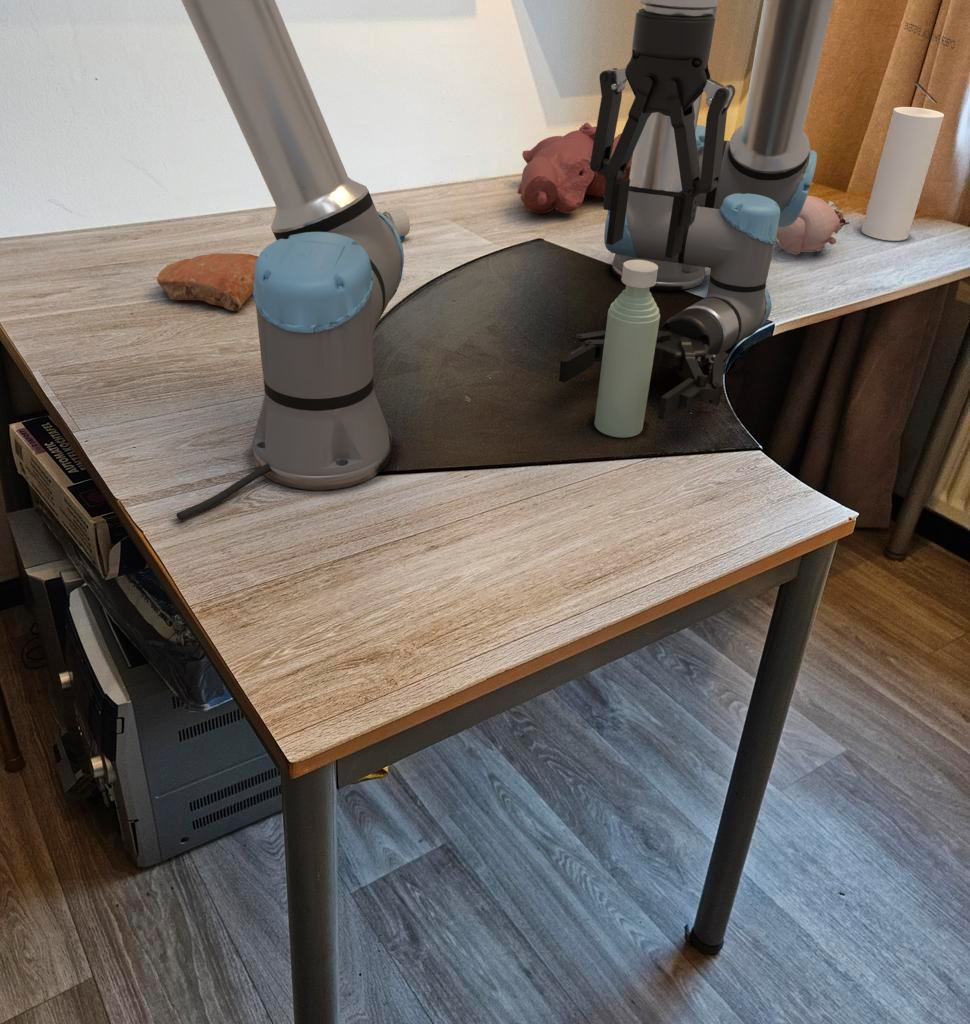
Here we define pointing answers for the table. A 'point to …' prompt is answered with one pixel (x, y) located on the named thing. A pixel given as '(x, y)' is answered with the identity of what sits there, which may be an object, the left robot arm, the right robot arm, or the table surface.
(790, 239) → the toy
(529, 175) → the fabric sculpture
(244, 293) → the ceramic shard
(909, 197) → the tall white cylinder
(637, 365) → the bottle
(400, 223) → the electric motor
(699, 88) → the left robot arm
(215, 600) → the table surface
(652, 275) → the cap
